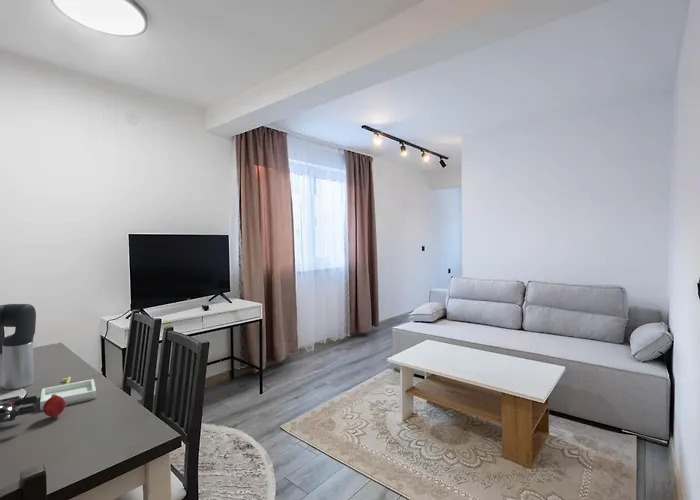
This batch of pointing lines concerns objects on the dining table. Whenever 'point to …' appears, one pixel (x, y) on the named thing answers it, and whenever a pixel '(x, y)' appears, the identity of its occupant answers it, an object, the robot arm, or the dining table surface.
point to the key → (67, 380)
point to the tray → (70, 392)
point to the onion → (54, 406)
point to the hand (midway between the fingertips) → (35, 403)
